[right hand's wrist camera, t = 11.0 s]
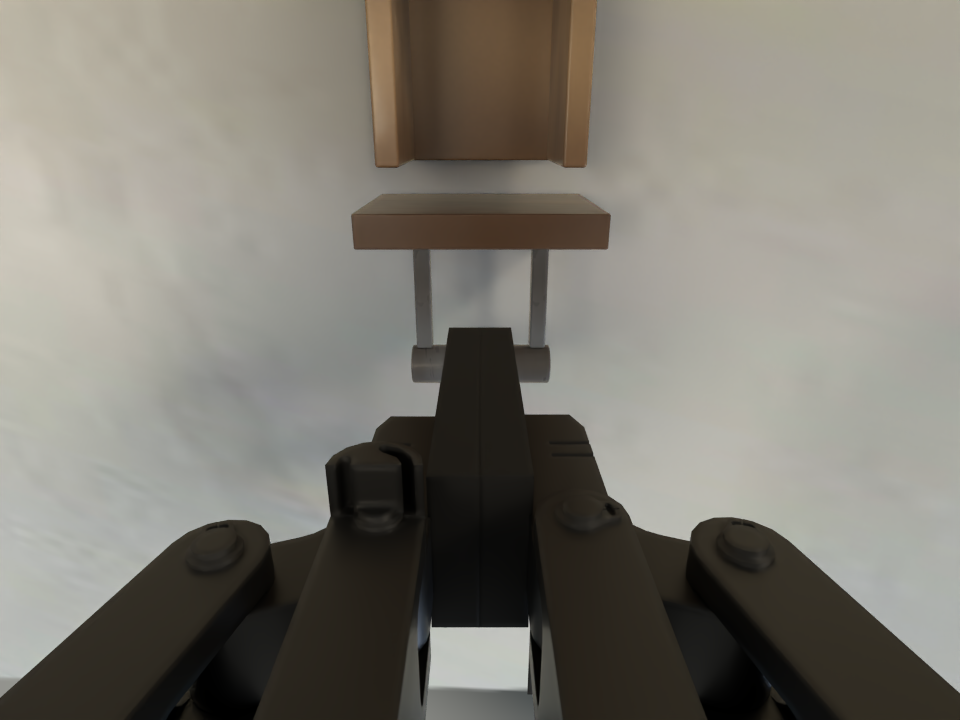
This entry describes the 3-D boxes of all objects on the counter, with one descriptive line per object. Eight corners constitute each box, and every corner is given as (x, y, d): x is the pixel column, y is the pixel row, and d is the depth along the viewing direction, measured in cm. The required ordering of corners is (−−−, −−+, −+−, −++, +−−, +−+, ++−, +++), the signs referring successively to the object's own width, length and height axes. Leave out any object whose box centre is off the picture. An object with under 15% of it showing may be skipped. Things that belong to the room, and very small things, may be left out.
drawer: (571, 341, 28) (596, 399, 22) (390, 341, 28) (365, 399, 22) (613, -354, 19) (674, -576, 13) (348, -354, 19) (288, -576, 13)
